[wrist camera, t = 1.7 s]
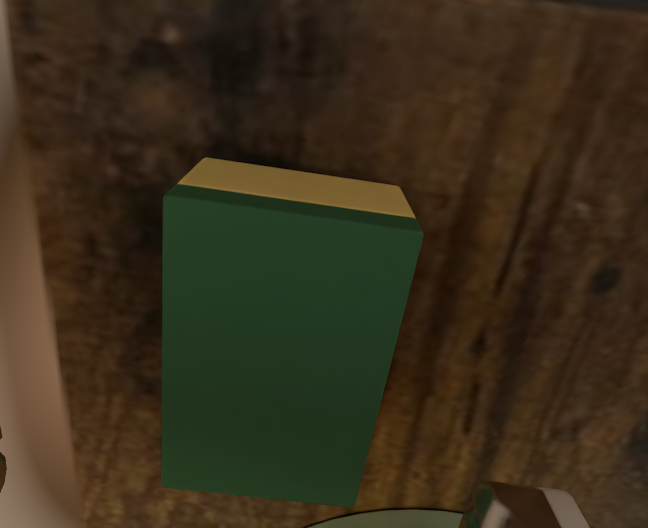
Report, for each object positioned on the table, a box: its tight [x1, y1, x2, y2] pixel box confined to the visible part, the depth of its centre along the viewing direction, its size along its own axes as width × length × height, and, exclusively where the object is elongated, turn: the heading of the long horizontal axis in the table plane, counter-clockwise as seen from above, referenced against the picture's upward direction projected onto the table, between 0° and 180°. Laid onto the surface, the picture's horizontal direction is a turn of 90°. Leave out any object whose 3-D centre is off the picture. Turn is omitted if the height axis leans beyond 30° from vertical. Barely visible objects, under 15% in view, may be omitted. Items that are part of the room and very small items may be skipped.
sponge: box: [161, 158, 424, 507], centre depth 11 cm, size 7×4×3 cm, turn 171°
